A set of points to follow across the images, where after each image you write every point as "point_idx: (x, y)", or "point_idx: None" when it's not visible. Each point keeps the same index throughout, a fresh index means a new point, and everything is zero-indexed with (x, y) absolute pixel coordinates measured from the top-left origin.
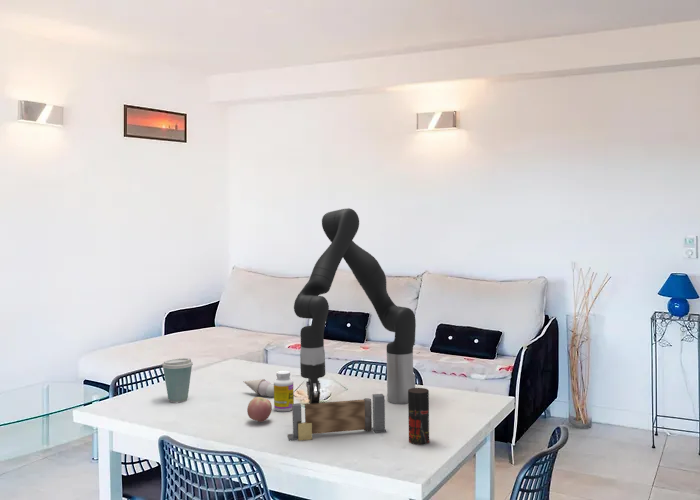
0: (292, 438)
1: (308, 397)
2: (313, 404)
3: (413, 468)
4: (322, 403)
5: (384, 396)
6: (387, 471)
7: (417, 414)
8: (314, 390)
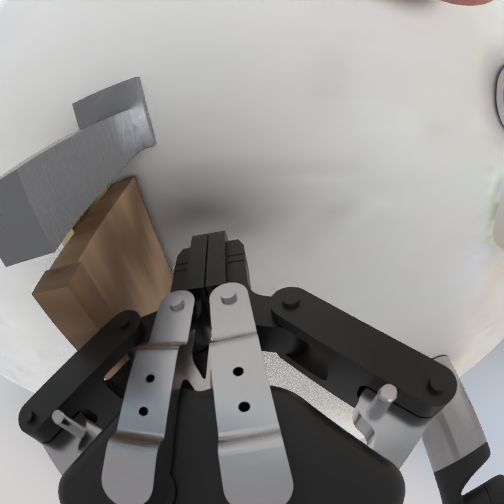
0: (77, 121)
1: (292, 305)
2: (80, 341)
3: (33, 383)
4: None
5: None
6: (3, 356)
7: None
8: (48, 451)
